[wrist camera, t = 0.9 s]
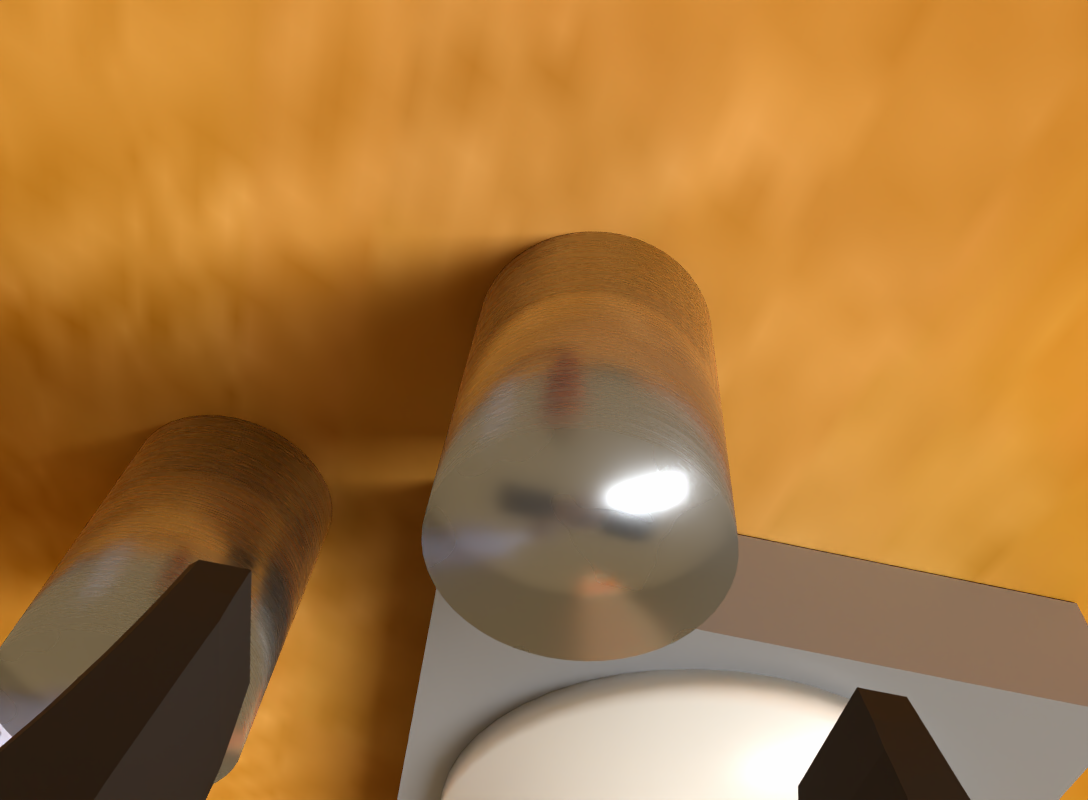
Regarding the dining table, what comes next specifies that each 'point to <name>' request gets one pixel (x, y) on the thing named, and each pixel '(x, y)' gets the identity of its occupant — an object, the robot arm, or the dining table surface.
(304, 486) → the steel weight
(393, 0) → the dining table surface
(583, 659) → the steel weight
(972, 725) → the kitchen scale
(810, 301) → the dining table surface
